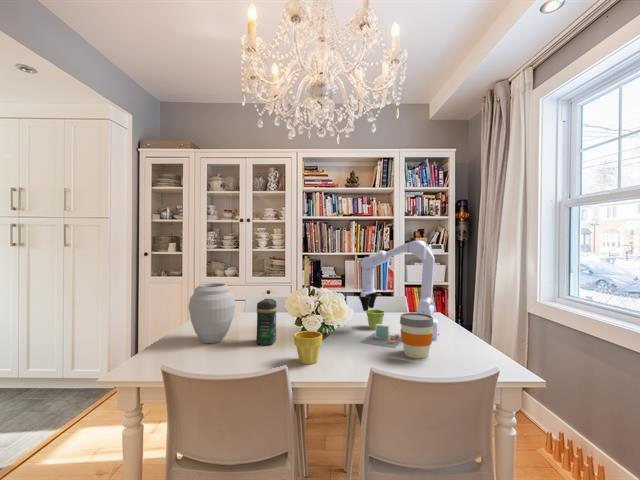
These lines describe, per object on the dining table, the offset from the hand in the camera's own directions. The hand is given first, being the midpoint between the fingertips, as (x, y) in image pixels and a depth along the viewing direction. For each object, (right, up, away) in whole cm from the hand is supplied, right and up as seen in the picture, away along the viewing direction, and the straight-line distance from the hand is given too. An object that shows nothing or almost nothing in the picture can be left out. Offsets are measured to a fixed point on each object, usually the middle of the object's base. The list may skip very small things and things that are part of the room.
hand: (368, 309), depth 168 cm
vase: (-71, -10, -18) cm, 74 cm away
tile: (+4, -10, -16) cm, 19 cm away
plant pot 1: (-28, -11, -42) cm, 52 cm away
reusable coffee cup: (+13, -11, -36) cm, 40 cm away
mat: (+4, -10, -18) cm, 21 cm away
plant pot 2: (+4, -10, +2) cm, 11 cm away
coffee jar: (-47, -10, -20) cm, 52 cm away
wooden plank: (+8, -10, -18) cm, 22 cm away
